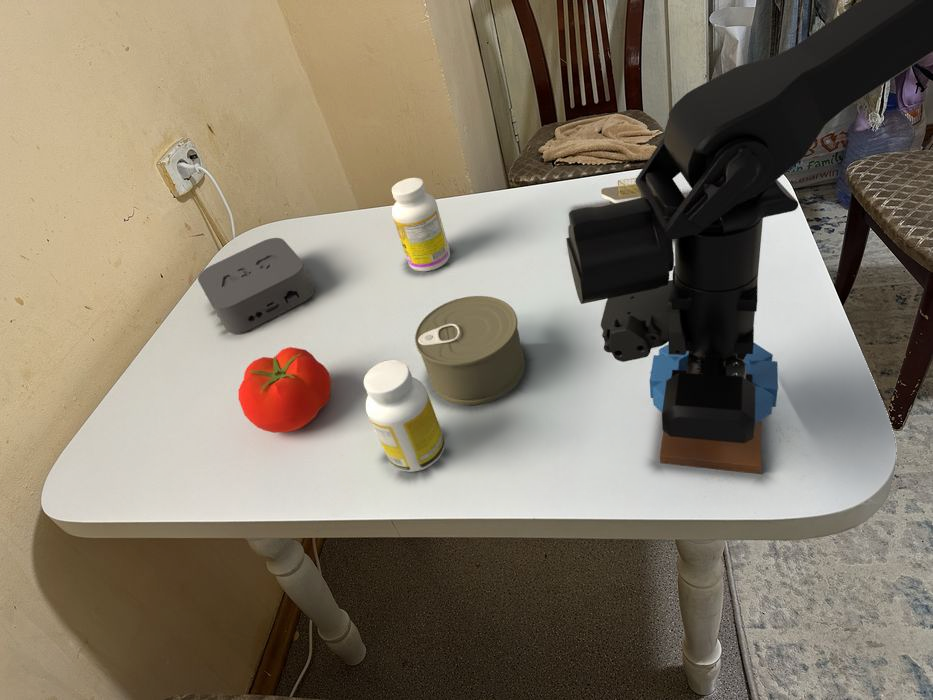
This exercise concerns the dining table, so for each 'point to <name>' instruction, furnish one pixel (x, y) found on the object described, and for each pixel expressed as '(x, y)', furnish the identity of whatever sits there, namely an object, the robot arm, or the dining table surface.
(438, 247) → the supplement bottle
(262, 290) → the streaming box
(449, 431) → the dining table surface
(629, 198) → the platform
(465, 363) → the can
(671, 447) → the peg stand
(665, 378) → the blue ring
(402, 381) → the pill bottle
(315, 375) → the tomato
